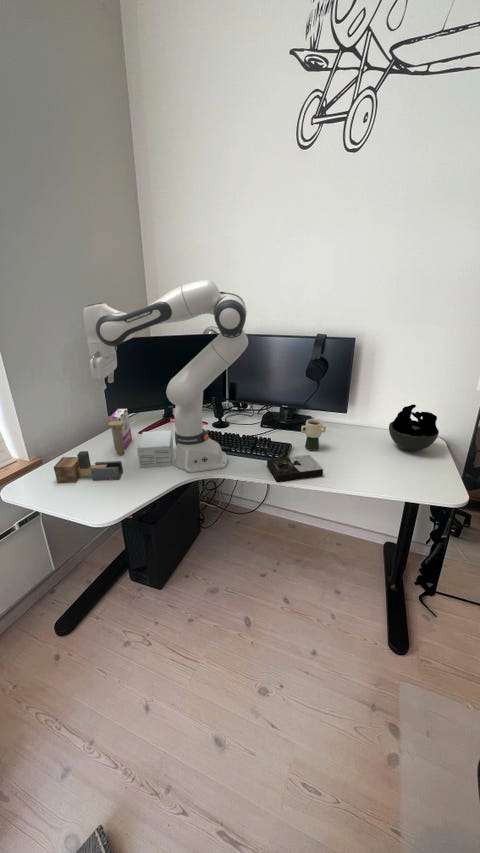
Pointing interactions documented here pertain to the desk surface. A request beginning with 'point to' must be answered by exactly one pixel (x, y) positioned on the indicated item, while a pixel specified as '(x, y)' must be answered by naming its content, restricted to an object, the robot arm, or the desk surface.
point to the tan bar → (86, 464)
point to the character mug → (313, 433)
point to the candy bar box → (126, 431)
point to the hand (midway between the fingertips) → (107, 385)
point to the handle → (117, 436)
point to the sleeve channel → (107, 471)
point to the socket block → (67, 470)
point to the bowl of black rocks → (413, 429)
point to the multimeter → (294, 468)
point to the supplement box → (155, 449)
